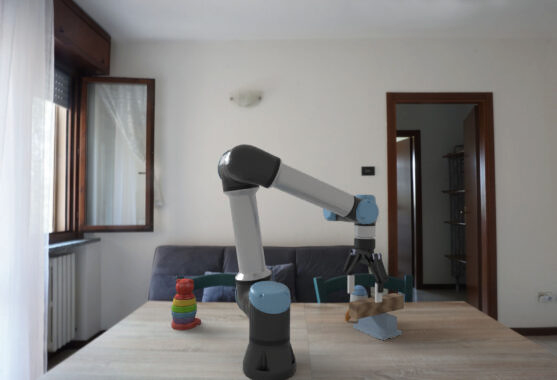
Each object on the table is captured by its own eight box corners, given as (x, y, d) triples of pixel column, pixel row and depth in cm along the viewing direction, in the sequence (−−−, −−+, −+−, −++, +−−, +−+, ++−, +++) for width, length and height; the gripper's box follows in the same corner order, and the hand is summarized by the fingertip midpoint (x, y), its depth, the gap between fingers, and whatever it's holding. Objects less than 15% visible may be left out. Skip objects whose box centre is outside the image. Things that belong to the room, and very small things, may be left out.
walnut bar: (357, 319, 123) (357, 304, 123) (349, 316, 126) (349, 301, 126) (403, 308, 135) (403, 295, 136) (395, 305, 139) (395, 292, 139)
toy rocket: (376, 326, 139) (372, 290, 136) (350, 333, 137) (346, 296, 135) (365, 314, 149) (361, 280, 147) (341, 320, 147) (337, 286, 145)
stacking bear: (202, 321, 140) (202, 276, 141) (193, 331, 130) (194, 281, 131) (175, 320, 141) (176, 275, 142) (165, 329, 131) (165, 281, 132)
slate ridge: (381, 340, 122) (381, 320, 122) (353, 328, 134) (353, 309, 134) (401, 335, 127) (401, 315, 127) (372, 323, 139) (372, 305, 139)
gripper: (399, 240, 120) (399, 304, 119) (348, 234, 141) (348, 288, 140) (384, 241, 116) (383, 307, 115) (334, 234, 137) (333, 290, 136)
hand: (364, 297), depth 128 cm, fingers open, 13 cm apart
